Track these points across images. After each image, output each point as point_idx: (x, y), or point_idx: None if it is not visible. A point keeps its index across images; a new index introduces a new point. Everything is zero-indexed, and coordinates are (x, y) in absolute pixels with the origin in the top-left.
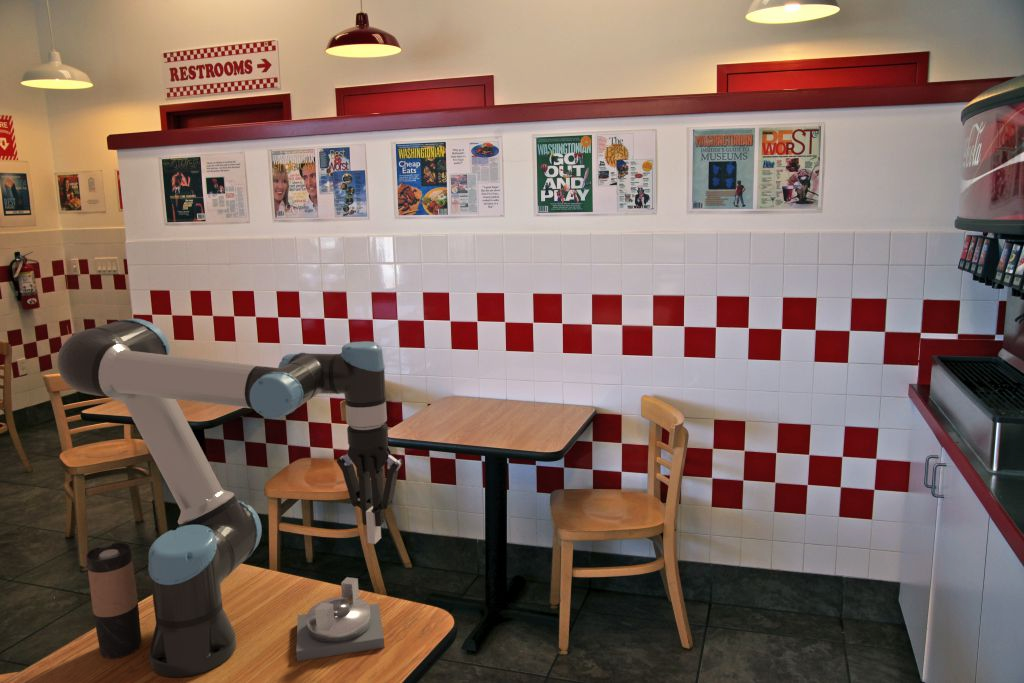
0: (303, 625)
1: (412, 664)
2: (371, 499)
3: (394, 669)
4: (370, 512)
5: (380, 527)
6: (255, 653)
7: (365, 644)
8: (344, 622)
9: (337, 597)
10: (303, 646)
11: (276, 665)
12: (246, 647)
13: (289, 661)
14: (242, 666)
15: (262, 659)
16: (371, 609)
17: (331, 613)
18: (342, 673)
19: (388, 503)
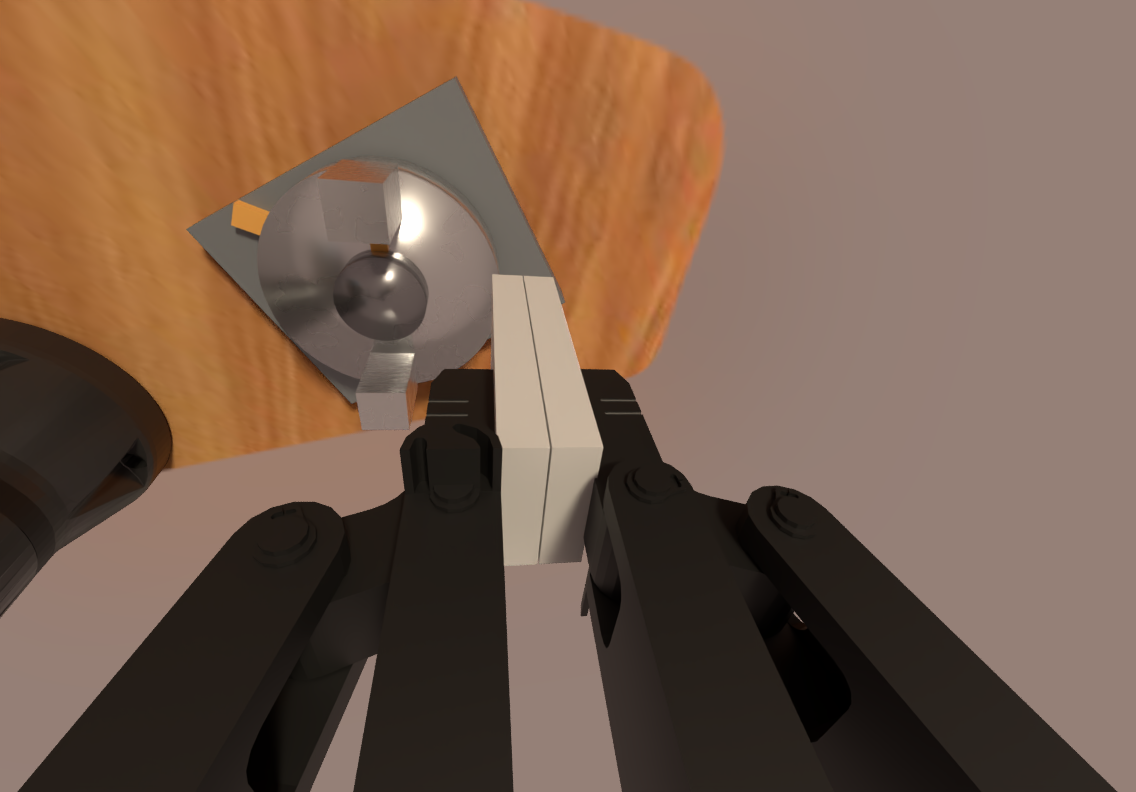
0: None
1: (654, 340)
2: (501, 535)
3: (615, 365)
4: (549, 558)
5: (564, 315)
6: (214, 381)
7: None
8: (444, 343)
9: (306, 185)
10: (354, 382)
11: (317, 409)
12: (158, 364)
13: (337, 390)
14: (233, 429)
15: (258, 398)
16: (448, 136)
17: (410, 389)
18: None
19: (803, 634)
